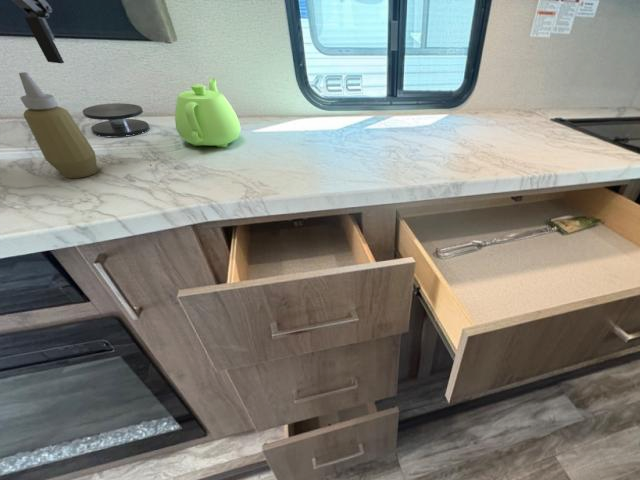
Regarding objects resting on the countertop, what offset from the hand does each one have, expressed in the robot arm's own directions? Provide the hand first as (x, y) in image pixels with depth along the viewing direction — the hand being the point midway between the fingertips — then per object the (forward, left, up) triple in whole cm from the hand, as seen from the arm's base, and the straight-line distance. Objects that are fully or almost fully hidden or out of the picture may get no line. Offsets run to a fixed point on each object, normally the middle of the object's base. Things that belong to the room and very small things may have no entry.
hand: (20, 67), depth 58 cm
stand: (-13, +27, -19) cm, 36 cm away
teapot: (+13, +29, -19) cm, 37 cm away
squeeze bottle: (0, 0, -19) cm, 19 cm away
